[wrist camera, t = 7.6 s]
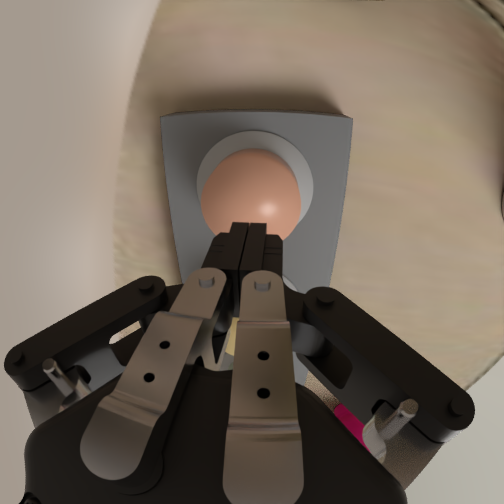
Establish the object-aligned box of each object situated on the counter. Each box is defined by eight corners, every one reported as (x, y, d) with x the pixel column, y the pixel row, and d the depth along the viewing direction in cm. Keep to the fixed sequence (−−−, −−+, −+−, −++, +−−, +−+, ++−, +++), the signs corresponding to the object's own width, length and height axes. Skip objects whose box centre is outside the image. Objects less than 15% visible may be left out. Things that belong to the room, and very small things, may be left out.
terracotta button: (300, 150, 16) (304, 159, 14) (295, 232, 19) (297, 251, 17) (207, 148, 16) (197, 157, 14) (212, 229, 19) (204, 247, 17)
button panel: (343, 114, 17) (353, 118, 15) (301, 374, 33) (302, 392, 31) (173, 113, 18) (158, 117, 15) (209, 369, 34) (205, 386, 32)
